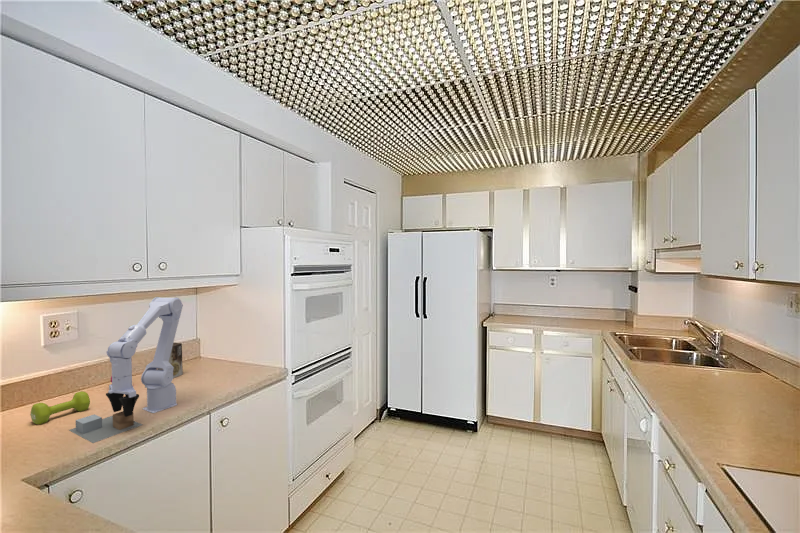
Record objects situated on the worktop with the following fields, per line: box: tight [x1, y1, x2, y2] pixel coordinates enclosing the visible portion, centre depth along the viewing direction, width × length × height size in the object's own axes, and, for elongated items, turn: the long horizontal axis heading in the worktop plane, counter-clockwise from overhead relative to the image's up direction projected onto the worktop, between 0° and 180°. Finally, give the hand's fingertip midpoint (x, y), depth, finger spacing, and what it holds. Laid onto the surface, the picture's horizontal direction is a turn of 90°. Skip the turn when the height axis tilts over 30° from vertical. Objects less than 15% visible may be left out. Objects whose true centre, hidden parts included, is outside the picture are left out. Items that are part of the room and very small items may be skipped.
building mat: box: [68, 415, 144, 444], centre depth 134 cm, size 15×18×1 cm
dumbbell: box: [29, 390, 91, 425], centre depth 143 cm, size 16×8×7 cm, turn 153°
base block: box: [75, 414, 103, 434], centre depth 133 cm, size 6×6×4 cm
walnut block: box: [112, 410, 135, 430], centre depth 135 cm, size 4×4×4 cm
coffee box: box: [158, 342, 184, 379], centre depth 188 cm, size 9×6×16 cm
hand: (122, 413), depth 135 cm, fingers open, 7 cm apart
